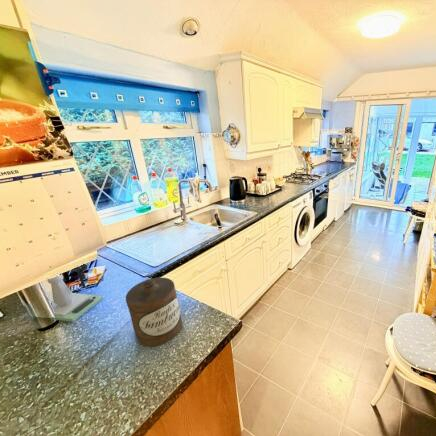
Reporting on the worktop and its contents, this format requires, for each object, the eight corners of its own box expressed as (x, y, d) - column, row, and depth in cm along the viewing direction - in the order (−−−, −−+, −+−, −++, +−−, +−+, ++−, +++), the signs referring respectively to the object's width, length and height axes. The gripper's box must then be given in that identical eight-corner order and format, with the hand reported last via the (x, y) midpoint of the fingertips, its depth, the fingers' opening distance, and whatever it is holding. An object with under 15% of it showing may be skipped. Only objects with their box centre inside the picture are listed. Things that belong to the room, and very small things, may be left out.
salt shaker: (75, 296, 98) (65, 269, 93) (75, 303, 94) (64, 276, 89) (56, 302, 94) (44, 274, 89) (55, 310, 90) (42, 282, 85)
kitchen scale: (37, 320, 90) (33, 313, 88) (71, 297, 102) (68, 291, 100) (74, 325, 88) (71, 317, 87) (104, 301, 100) (102, 294, 99)
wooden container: (151, 354, 77) (136, 301, 69) (129, 334, 85) (113, 284, 77) (190, 325, 89) (181, 276, 81) (168, 309, 96) (158, 263, 88)
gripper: (82, 241, 105) (101, 283, 102) (-3, 264, 87) (16, 315, 84) (82, 234, 100) (101, 277, 97) (-9, 256, 82) (11, 310, 79)
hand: (62, 295), depth 90 cm, fingers open, 13 cm apart
